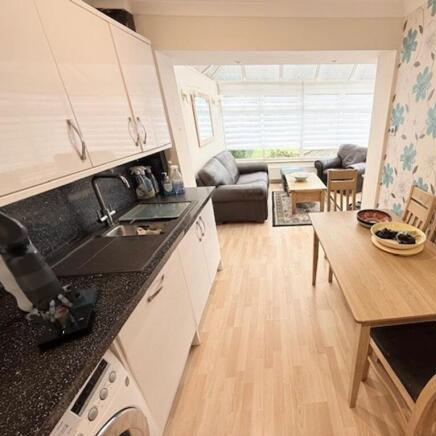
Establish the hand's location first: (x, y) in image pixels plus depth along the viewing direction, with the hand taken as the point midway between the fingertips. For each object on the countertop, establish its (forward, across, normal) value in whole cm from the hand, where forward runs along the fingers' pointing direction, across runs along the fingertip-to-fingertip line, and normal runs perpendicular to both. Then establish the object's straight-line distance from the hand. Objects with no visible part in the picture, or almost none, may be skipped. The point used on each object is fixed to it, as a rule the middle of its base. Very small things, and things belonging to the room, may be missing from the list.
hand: (65, 322), depth 77 cm
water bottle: (+4, +11, +24) cm, 27 cm away
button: (0, +11, +8) cm, 14 cm away
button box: (+4, +11, +8) cm, 15 cm away
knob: (+1, 0, 0) cm, 1 cm away
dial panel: (+4, 0, 0) cm, 4 cm away
